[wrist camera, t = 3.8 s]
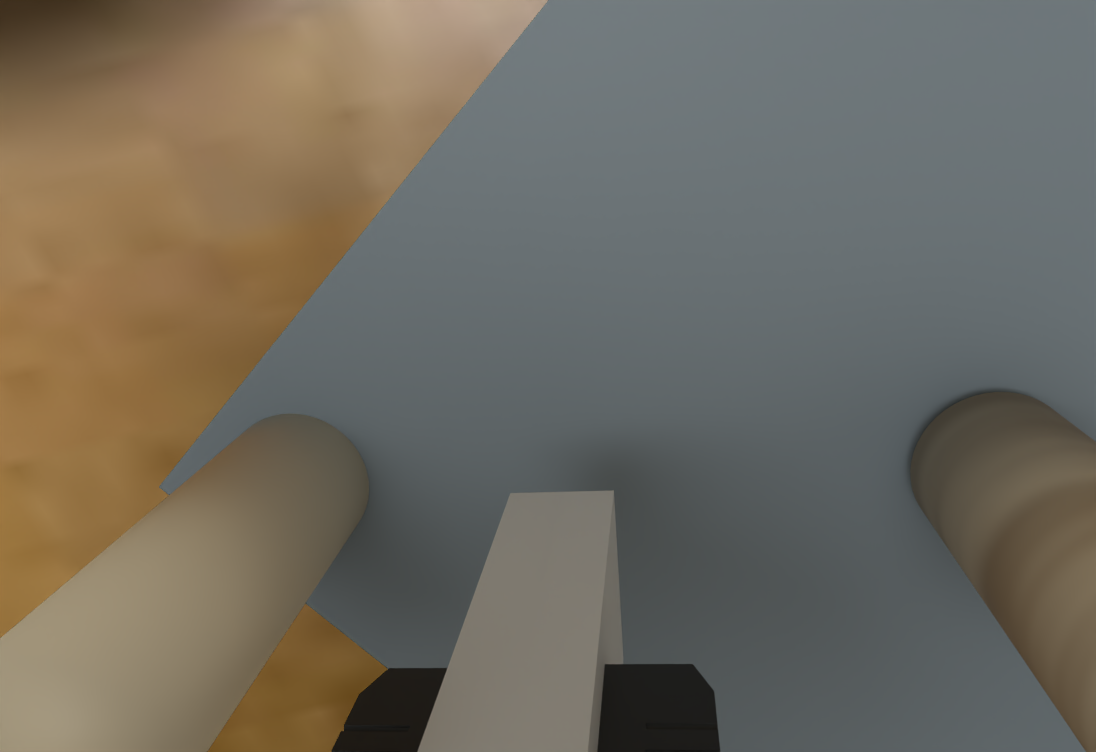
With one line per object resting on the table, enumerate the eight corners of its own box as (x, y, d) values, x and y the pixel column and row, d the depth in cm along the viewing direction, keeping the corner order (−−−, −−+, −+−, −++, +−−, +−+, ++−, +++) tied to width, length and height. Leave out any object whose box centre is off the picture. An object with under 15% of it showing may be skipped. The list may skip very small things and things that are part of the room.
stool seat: (865, 969, 24) (1038, 1636, 13) (212, 442, 21) (-184, 764, 11) (1657, 388, 18) (2963, 765, 8) (897, -404, 16) (1366, -1315, 6)
